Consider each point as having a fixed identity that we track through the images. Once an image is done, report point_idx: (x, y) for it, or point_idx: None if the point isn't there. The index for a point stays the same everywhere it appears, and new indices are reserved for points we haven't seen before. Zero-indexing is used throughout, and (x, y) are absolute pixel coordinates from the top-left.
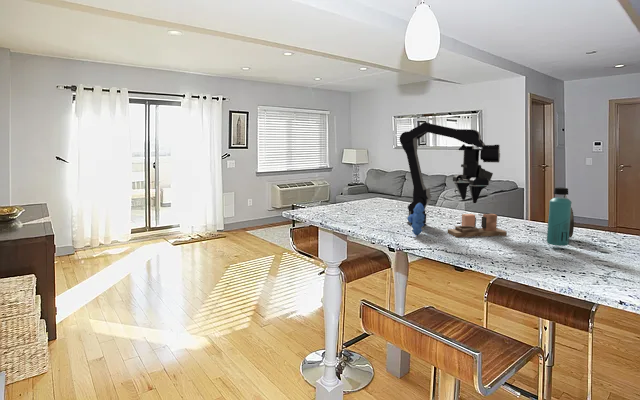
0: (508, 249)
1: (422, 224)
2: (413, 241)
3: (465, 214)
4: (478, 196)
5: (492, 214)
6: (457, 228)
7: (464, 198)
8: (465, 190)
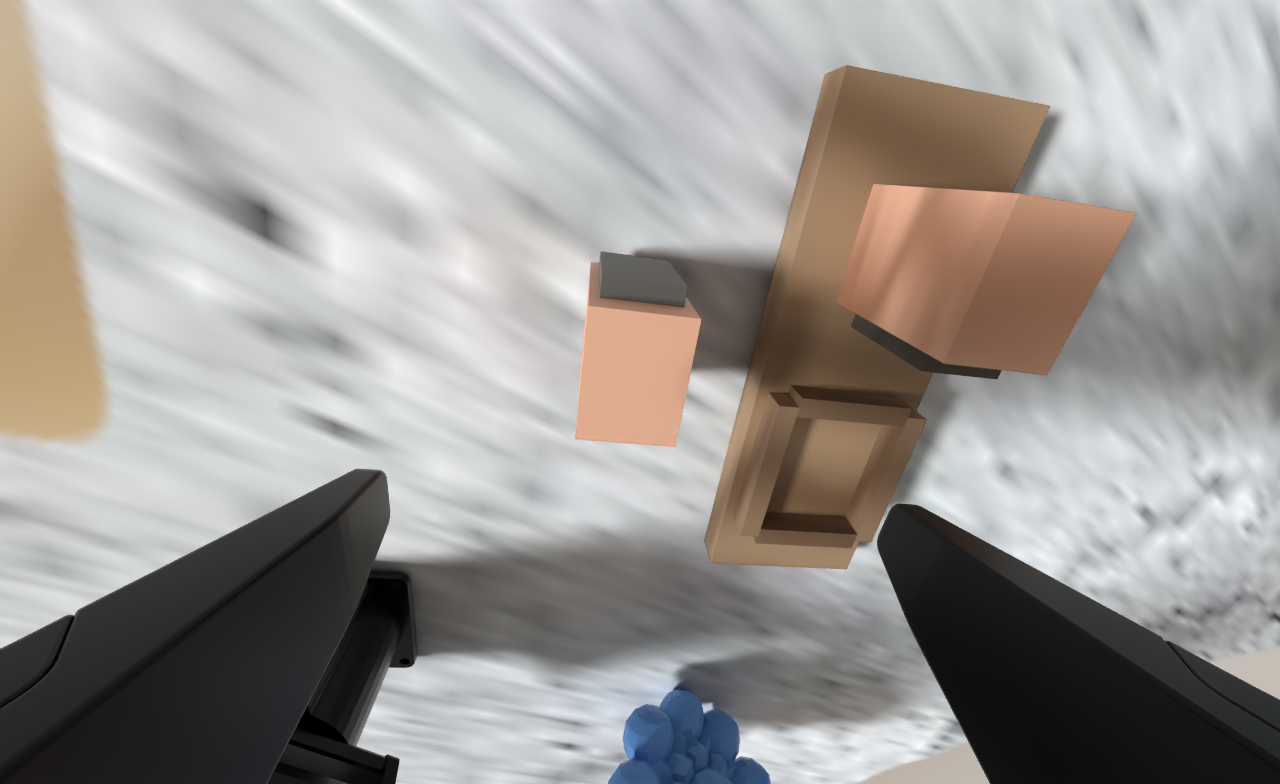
0: (1247, 426)
1: (671, 731)
2: (815, 742)
3: (607, 410)
4: (1099, 613)
5: (1060, 256)
6: (793, 539)
7: (369, 504)
8: (158, 714)
